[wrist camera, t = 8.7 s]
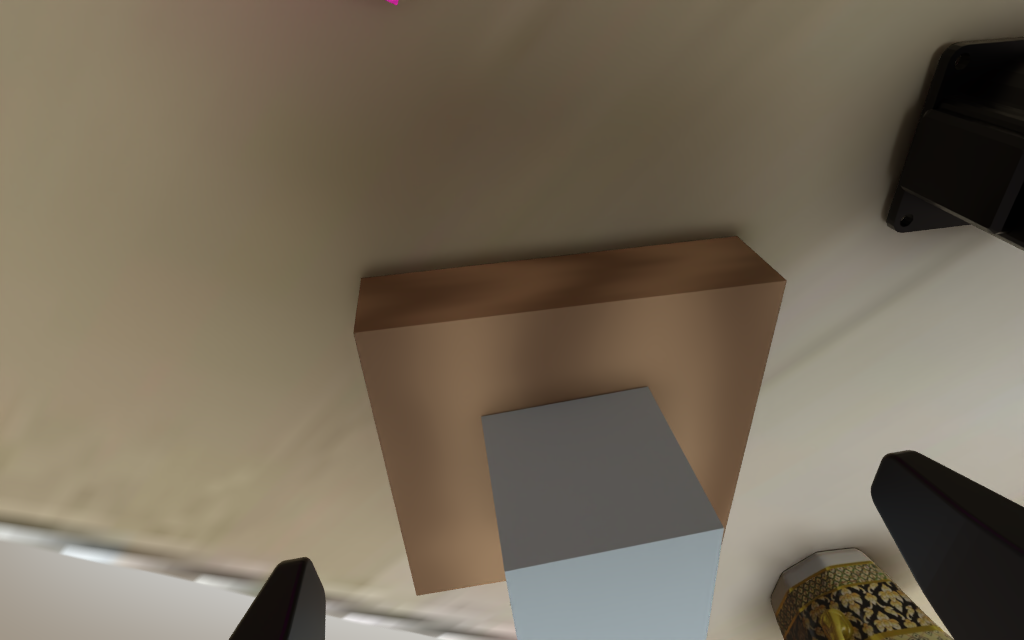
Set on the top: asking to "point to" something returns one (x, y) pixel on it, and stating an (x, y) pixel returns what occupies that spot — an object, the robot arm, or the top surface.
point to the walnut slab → (555, 373)
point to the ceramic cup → (846, 602)
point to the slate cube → (601, 521)
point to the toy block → (393, 1)
